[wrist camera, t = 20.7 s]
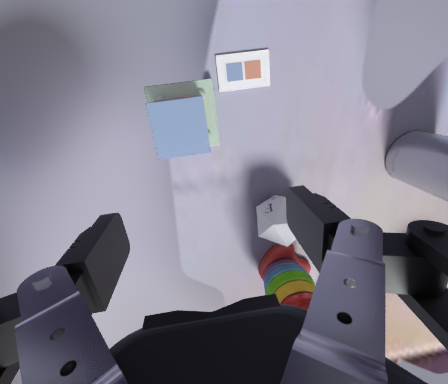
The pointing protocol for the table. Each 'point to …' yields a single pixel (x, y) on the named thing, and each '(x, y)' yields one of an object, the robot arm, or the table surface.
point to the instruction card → (243, 70)
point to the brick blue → (179, 126)
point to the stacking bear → (287, 276)
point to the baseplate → (189, 89)
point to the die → (274, 221)
